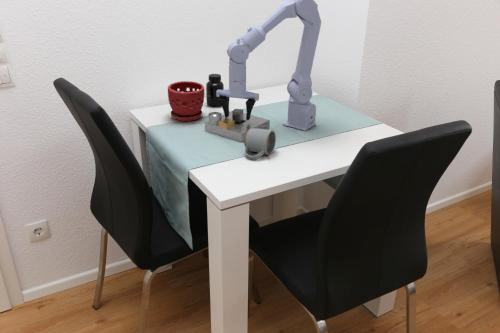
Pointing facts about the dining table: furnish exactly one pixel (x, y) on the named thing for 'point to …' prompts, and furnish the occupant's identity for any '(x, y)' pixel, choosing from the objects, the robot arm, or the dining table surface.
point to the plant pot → (186, 100)
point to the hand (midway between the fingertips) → (237, 118)
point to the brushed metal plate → (234, 125)
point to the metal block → (237, 116)
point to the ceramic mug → (259, 142)
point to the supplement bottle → (213, 90)
